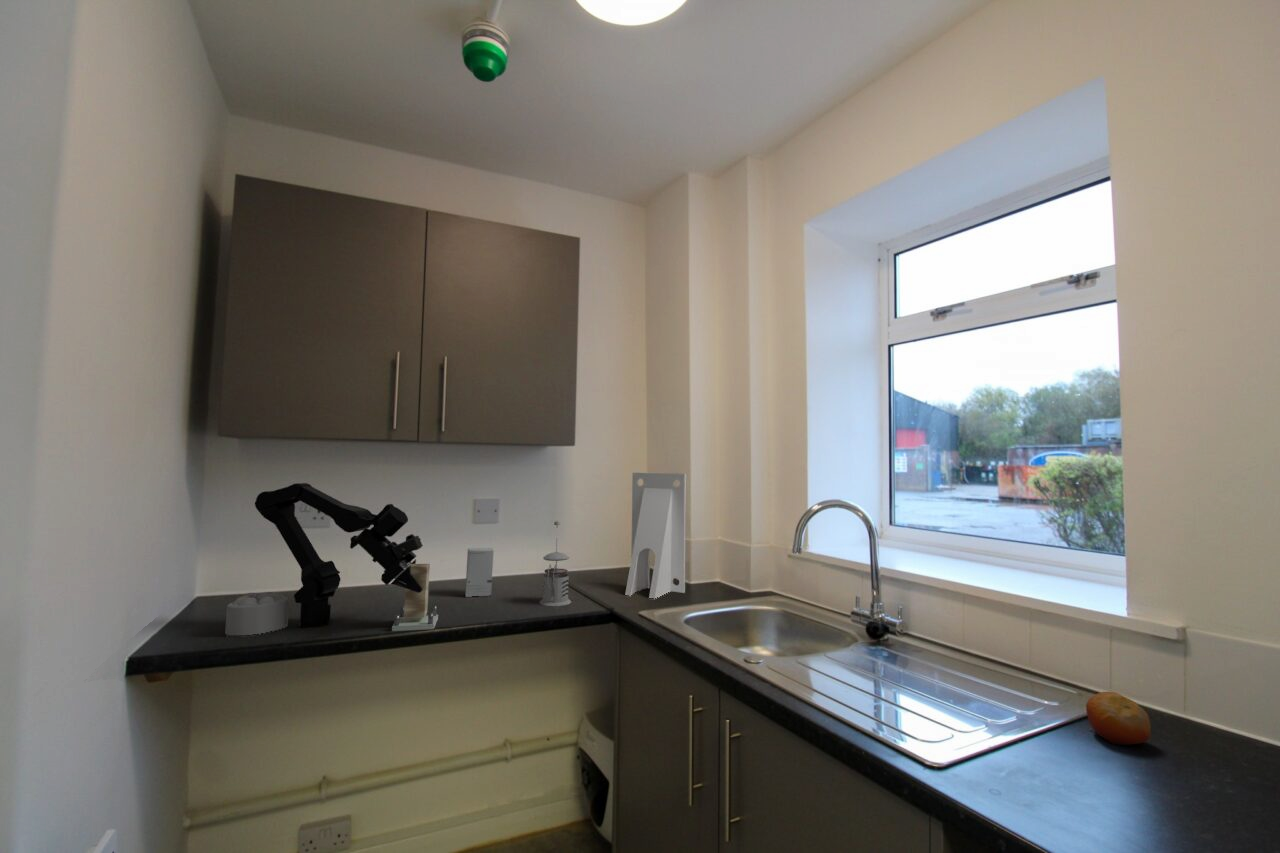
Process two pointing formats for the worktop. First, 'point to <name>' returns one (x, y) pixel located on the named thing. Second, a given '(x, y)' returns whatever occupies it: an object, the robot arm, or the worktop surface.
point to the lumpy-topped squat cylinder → (257, 614)
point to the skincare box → (479, 572)
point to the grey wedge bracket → (658, 533)
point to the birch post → (414, 600)
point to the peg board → (415, 621)
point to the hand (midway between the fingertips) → (422, 589)
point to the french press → (555, 581)
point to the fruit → (1118, 719)
